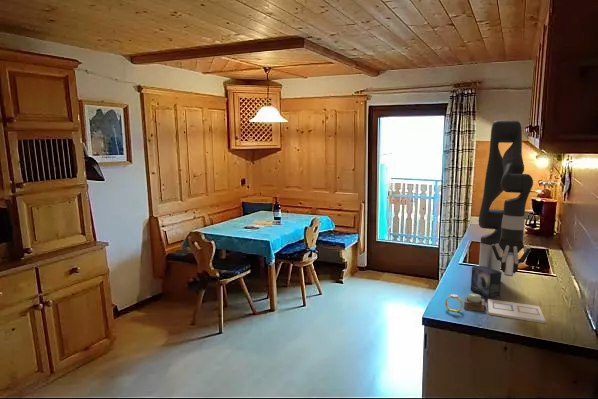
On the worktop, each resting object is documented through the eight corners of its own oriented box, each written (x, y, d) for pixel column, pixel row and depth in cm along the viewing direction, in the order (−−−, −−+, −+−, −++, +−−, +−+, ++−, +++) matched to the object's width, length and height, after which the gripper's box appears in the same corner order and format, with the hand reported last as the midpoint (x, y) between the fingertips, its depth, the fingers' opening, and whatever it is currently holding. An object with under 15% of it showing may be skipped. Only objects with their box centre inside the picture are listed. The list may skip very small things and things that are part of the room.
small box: (469, 290, 181) (471, 266, 180) (481, 288, 183) (482, 265, 182) (488, 298, 171) (490, 273, 170) (500, 296, 173) (502, 271, 172)
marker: (503, 273, 161) (505, 250, 160) (512, 274, 159) (514, 251, 158) (504, 275, 158) (506, 252, 157) (513, 276, 157) (515, 253, 156)
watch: (444, 311, 156) (444, 295, 156) (446, 308, 158) (446, 293, 158) (461, 313, 153) (461, 297, 153) (463, 311, 155) (462, 295, 155)
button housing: (464, 302, 165) (464, 296, 165) (483, 305, 162) (484, 299, 162) (463, 308, 159) (464, 301, 158) (484, 311, 156) (484, 304, 156)
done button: (468, 300, 163) (468, 292, 163) (480, 302, 161) (481, 294, 161) (467, 303, 159) (468, 296, 159) (480, 305, 157) (481, 298, 157)
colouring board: (487, 300, 168) (487, 298, 168) (539, 308, 161) (539, 306, 161) (488, 314, 153) (488, 312, 153) (545, 323, 146) (545, 320, 146)
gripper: (532, 227, 157) (528, 272, 159) (491, 223, 163) (488, 267, 165) (535, 230, 150) (530, 277, 152) (492, 227, 156) (488, 272, 158)
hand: (508, 272), depth 159 cm, fingers closed on marker, 3 cm apart
